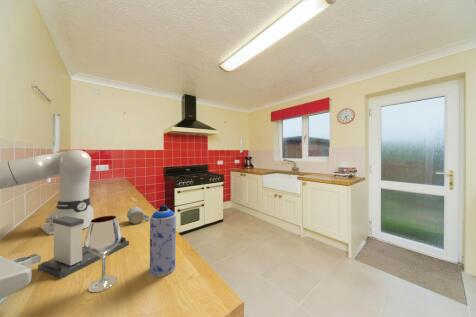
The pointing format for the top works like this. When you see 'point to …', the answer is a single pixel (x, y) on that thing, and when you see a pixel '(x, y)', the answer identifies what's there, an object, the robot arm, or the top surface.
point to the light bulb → (136, 215)
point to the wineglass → (102, 246)
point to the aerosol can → (162, 242)
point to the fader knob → (68, 239)
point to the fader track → (64, 270)
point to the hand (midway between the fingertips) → (38, 257)
